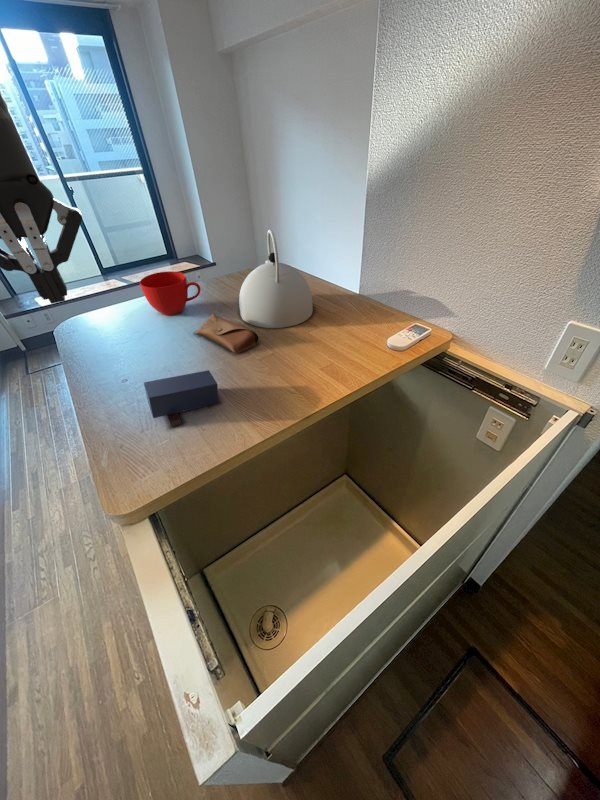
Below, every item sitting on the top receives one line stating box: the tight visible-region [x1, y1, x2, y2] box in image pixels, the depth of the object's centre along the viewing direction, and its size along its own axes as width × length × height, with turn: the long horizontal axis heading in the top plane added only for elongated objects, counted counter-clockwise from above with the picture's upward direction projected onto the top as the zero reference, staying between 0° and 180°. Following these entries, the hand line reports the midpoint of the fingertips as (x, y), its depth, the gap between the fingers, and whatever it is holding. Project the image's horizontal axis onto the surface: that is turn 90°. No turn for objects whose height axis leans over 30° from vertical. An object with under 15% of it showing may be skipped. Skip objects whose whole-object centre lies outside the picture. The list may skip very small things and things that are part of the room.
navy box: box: [143, 369, 219, 419], centre depth 67 cm, size 5×6×13 cm
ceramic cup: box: [139, 270, 201, 316], centre depth 99 cm, size 13×17×10 cm
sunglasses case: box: [194, 312, 260, 354], centre depth 89 cm, size 18×7×7 cm, turn 51°
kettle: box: [238, 229, 314, 329], centre depth 95 cm, size 25×23×22 cm
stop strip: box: [166, 413, 182, 428], centre depth 67 cm, size 2×10×1 cm, turn 30°
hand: (57, 300), depth 40 cm, fingers closed
